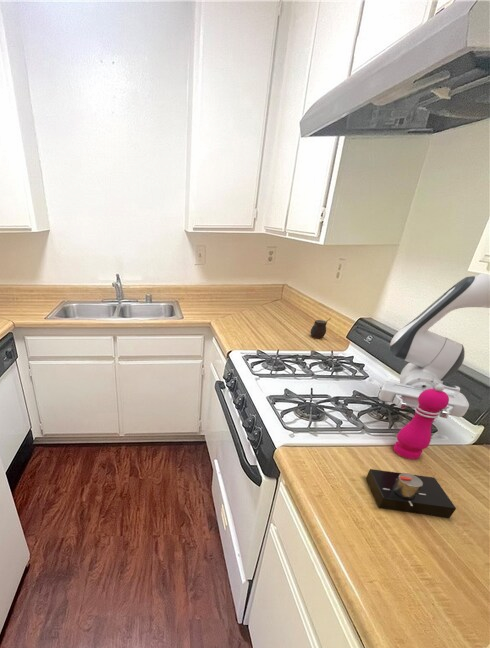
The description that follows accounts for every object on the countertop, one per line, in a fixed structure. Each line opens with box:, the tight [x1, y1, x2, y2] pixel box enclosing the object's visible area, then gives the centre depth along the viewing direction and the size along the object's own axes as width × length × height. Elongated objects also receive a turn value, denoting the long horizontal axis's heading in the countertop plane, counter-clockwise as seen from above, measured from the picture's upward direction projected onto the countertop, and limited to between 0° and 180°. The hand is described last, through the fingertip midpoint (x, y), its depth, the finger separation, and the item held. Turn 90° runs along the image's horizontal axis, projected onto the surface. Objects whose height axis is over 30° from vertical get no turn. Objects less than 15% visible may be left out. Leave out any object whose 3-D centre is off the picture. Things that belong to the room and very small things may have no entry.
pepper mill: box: [393, 384, 449, 460], centre depth 87 cm, size 7×7×20 cm
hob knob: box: [393, 472, 423, 499], centre depth 74 cm, size 4×4×4 cm
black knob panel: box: [365, 468, 457, 519], centre depth 77 cm, size 14×11×3 cm
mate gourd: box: [310, 317, 331, 339], centre depth 171 cm, size 7×8×10 cm
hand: (423, 410), depth 90 cm, fingers open, 8 cm apart
